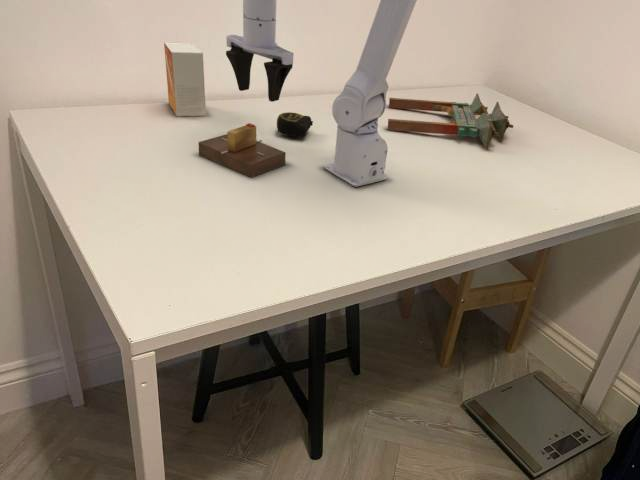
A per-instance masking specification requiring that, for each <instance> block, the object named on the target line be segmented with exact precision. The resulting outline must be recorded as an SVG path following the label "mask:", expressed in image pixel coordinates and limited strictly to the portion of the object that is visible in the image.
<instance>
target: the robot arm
mask: <svg viewBox="0 0 640 480" xmlns="http://www.w3.org/2000/svg"><path fill="white" fill-rule="evenodd" d="M417 1H418V0H380V1H379V4H378V6H377V9H376V13H375V15H374V18H373V21H372V24H371V26H370V29H369V32H368V35H367V38H366V40H365V43H364V46H363V49H362V52H361V55H360V58H359V61H358V63H357V66H356V69H355V71H354V72H353V73H352V75H351V76H350V77H349V79H348V80H347V81H346V82H345V84H344V86H343V89H342V91H341V93H340V94H339V95H337V96H336V97H335V99H334V100H333V103H332V107H331V111H332V112H331V113H332V117H333V119H334V121H335V123H336V124H337V125H336V126H337V127H336V128H337V130H336V139H335V151H334V160H333V161H334V163H329V164H325V165H324V166H323V169H325V170H326V171H328V172H330V173H331V174H333V175H335V176H336V177H337V178H339V179H340V180H343V181H345V182H346V183H348V184H349V185H351V186H353V187H354V188H355V187H356V188H357V187H361V186H366V185H369V184H373V183H377V182H381V181H385V180H387V176H386V175H385V170H386V164H387V157H388V143H387V141H386V140H385V139H384V138H383V137H382V136H381V134H380V133H379V131H378V128H379V119H380V118H381V117H382V116H383V115H384V114H385V111H386V108H387V92H388V90H389V88H390V87H389V83H388V81H387V77H388V75H389V73H390V70H391V67H392V65H393V62H394V60H395V57H396V55H397V53H398V50H399V47H400V44H401V42H402V39H403V37H404V34H405V31H406V29H407V27H408V24H409V21H410V19H411V16H412V13H413V12H414V8H415V6H416V4H417ZM276 32H277V0H242V36H241V35H237V34H228V35H226V47H228V48H230V49H229V50H226V51H225V55H226V57H227V59H228V61H229V63H230V65H231V67H232V70H233V73H234V76H235V80H236V83H237V87H238V91H240V92H244V91H247V90H250V85H251V70H252V62H253V59H254V56H255V55H257V56H260V57H264V58H266V59H270V60H271V61H265V62H263V67H264V69H265V73H266V79H267V97H268V101H269V102H271V103H273V102H276V101H279V100H280V97H281V93H282V90H283V87H284V83H285V81H286V79H287V77H288V75H289V74H290V72H291V70H292V69H293V66H294V56H295V55H294V52H292V51H289V50H287V49H286V48H283V47H281V46H279V45H278V43H277V42H276V38H277V37H276Z"/></svg>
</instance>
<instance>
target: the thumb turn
mask: <svg viewBox="0 0 640 480" xmlns="http://www.w3.org/2000/svg"><path fill="white" fill-rule="evenodd" d="M227 134H228V150H230V151H233V152H236V151H239V150H242V149H244V148H247V147H250V146H252V145H255V144H256V141H257V125H255V124H253V123H250V122H249V123H246V124H245V125H241V126H240V127H237V128H234V129H233V128H232V129H230V130H227Z"/></svg>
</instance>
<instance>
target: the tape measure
mask: <svg viewBox="0 0 640 480" xmlns="http://www.w3.org/2000/svg"><path fill="white" fill-rule="evenodd" d="M313 123H314V120H312V118H311V116H309V115H303V114H300V113H297V112H292V111H291V112H290V111H289V112H282V113H280V114H279V115H278V117H277V119H276V129H277V131H278V133H280V134H282V135H284V136H288V137H299V138H300V137H301V138H302V137H303V138H304V137H305V136H306V134H307V132H308V131H309V130H310V128H311V127H312V126H313Z"/></svg>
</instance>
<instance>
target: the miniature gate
mask: <svg viewBox="0 0 640 480" xmlns="http://www.w3.org/2000/svg"><path fill="white" fill-rule="evenodd" d="M388 108H389V109H397V110H399V109H400V110H413V111H426V112H427V111H428V112H438V113H439V112H441V113H447V115H448V116H451V117H452V119H450V122H440V121H439V122H436V121H424V120H412V119H411V120H409V119H396V118H388V119H387V131H392V132H393V131H394V132H406V133H407V132H409V133H422V134H437V135H448V136H449V135H450V136H451V135H452V136H458V137H472V138H477V136H478V137H479V139H480V141H481V143H482V144H483V147H484V148H485V150H486V151H489V147H490V144H491V141H492V139H493V137H494V136H496V137H498V138H499V140H500V142H504V140H503V139H504V136H505V134H506V132H507V129H508V128H511V129H513V128H514V124H511V123H510V120H509V115H506V114H504V112H503V111H502V109H501V106H500V102H499V101H496V103H495V105H494V107H493V110H492V111H491V113H489V112H488V108H489V107H488V106H485V105H484V104H483V102H482V101H481V99H480V95H479V93H476V94H475V96H474V98H473V99H472V102H471V104H469V103H468V102H457V101H441V100H440V101H438V100H428V99H427V100H426V99H414V98H413V99H412V98H398V97H389V102H388Z"/></svg>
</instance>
